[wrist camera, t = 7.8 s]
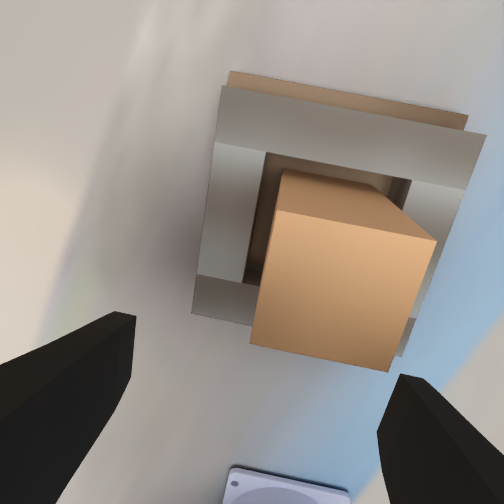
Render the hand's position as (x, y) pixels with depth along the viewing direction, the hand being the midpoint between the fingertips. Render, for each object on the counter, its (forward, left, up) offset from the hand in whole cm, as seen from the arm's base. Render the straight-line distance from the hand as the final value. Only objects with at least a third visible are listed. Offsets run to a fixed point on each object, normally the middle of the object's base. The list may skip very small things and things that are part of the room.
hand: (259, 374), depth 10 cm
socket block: (+2, -2, -10) cm, 10 cm away
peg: (+2, -2, -9) cm, 9 cm away
